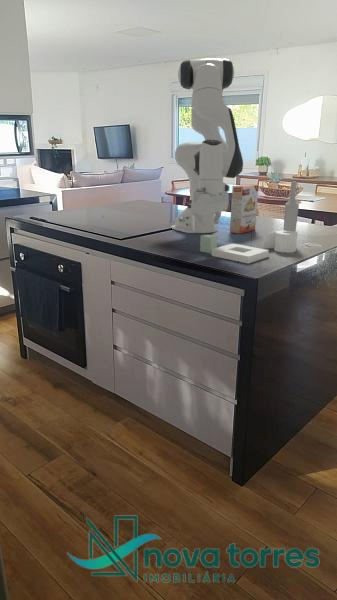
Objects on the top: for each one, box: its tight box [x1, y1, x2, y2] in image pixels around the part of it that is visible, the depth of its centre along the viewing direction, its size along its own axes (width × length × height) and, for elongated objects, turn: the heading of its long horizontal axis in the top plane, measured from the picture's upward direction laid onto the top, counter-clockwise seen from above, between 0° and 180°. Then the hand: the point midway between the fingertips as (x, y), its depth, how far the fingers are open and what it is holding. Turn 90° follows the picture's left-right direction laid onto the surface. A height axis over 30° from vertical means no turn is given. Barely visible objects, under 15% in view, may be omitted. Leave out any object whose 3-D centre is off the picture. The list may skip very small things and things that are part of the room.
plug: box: [199, 233, 219, 254], centre depth 169 cm, size 5×4×6 cm
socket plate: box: [211, 243, 270, 264], centre depth 163 cm, size 16×13×2 cm
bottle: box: [283, 181, 300, 232], centre depth 175 cm, size 5×5×25 cm
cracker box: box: [229, 183, 260, 235], centre depth 204 cm, size 14×6×21 cm, turn 140°
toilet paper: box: [262, 229, 299, 254], centre depth 171 cm, size 8×11×7 cm
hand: (209, 225), depth 166 cm, fingers open, 8 cm apart
